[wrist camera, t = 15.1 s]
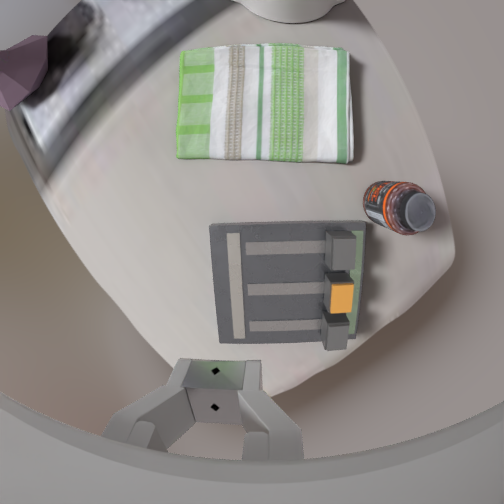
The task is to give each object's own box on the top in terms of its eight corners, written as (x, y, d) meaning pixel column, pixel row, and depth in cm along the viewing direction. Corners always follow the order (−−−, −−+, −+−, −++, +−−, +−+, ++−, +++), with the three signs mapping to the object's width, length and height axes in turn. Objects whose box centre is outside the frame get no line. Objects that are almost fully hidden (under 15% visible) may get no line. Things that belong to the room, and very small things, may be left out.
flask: (49, 28, 28) (-11, -1, 9) (73, 61, 31) (-4, 27, 11) (4, 88, 31) (-59, 77, 12) (21, 129, 34) (-57, 125, 14)
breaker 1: (325, 231, 34) (332, 237, 30) (348, 230, 33) (358, 237, 30) (324, 262, 35) (331, 272, 31) (347, 261, 34) (356, 271, 30)
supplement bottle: (377, 172, 34) (418, 169, 23) (406, 199, 34) (452, 207, 23) (353, 206, 35) (387, 216, 24) (383, 232, 35) (423, 252, 24)
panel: (212, 223, 36) (208, 226, 34) (361, 220, 35) (366, 222, 33) (221, 336, 41) (219, 344, 38) (352, 331, 39) (356, 339, 37)
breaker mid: (324, 273, 35) (331, 284, 31) (346, 272, 35) (355, 283, 31) (323, 301, 36) (329, 315, 32) (344, 300, 36) (352, 313, 32)
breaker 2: (322, 311, 36) (328, 325, 32) (343, 310, 36) (351, 324, 32) (320, 336, 37) (325, 352, 33) (340, 335, 37) (347, 350, 33)
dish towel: (350, 166, 34) (358, 164, 31) (179, 163, 35) (170, 161, 32) (345, 54, 30) (351, 44, 27) (184, 53, 31) (177, 43, 28)
